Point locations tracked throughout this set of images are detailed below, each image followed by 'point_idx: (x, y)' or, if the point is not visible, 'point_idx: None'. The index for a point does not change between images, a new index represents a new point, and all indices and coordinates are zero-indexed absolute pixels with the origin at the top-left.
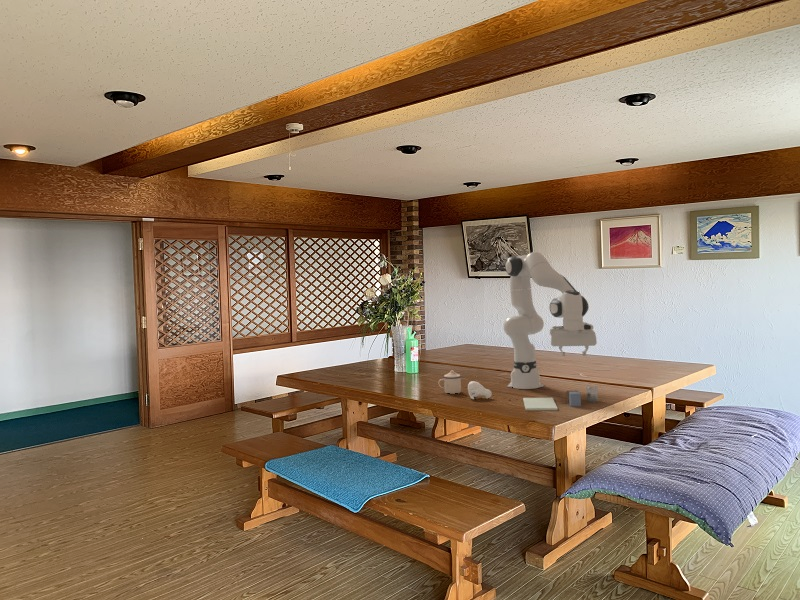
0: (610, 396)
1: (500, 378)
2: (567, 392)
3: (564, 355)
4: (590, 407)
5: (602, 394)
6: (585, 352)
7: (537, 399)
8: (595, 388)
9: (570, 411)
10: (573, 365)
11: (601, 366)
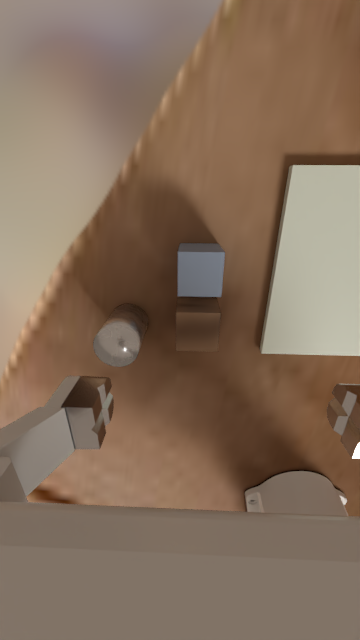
0: None
1: None
2: (219, 329)
3: (347, 384)
4: (146, 222)
5: None
6: (58, 399)
7: (323, 329)
8: (103, 328)
9: (239, 142)
10: None
11: None
